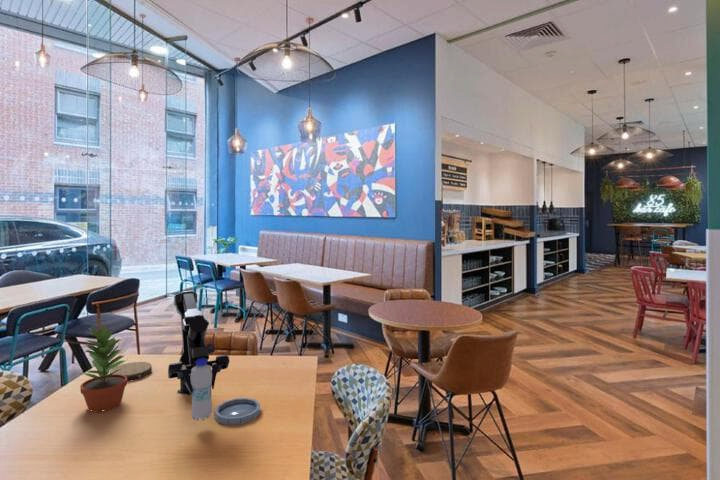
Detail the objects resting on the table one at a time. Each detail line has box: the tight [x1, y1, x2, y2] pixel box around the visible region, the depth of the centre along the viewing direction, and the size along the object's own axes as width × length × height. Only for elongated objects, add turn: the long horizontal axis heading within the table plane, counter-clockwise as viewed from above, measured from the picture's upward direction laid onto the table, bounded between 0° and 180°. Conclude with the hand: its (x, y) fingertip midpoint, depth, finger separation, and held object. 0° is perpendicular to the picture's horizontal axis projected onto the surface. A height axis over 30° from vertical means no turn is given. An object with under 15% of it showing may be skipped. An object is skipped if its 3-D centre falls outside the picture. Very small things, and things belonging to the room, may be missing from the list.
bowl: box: [214, 397, 261, 426], centre depth 140 cm, size 15×15×2 cm
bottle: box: [190, 357, 213, 422], centre depth 130 cm, size 7×7×20 cm
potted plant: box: [79, 325, 128, 411], centre depth 145 cm, size 15×15×30 cm
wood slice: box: [109, 361, 153, 382], centre depth 175 cm, size 16×16×3 cm
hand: (202, 390), depth 129 cm, fingers closed on bottle, 6 cm apart
